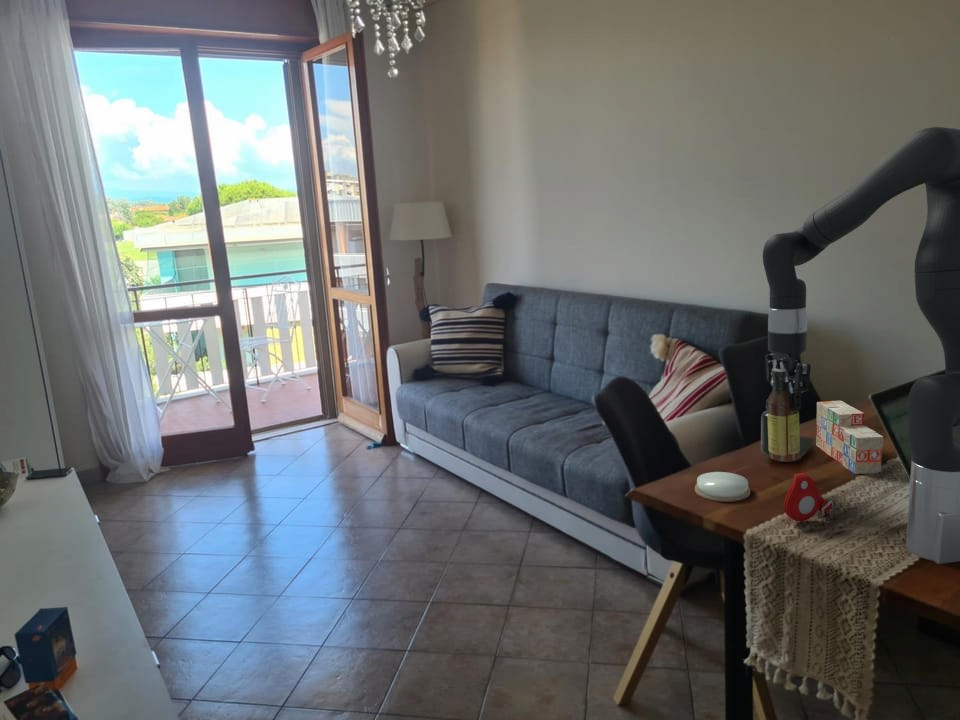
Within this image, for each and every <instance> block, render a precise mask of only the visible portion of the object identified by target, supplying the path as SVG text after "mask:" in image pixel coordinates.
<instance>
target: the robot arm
mask: <svg viewBox="0 0 960 720" xmlns="http://www.w3.org/2000/svg"><path fill="white" fill-rule="evenodd" d="M923 184H924V186H925V192H926V201H927V203H926V204H927V205H926V206H927V215H926V223H925V226H924V230H923V232H922V236H921V238H920V242H919V244H918V247H917V252H916V255H915V260H914V287H915V288H914V290H915V298H916V299H915V300H916V302H917V305H918V308H919V309H920V311H921V313H922V315H923V316H924V318H925V319H926V321H927V322H928V324H929V325H930V326H931V327H932V329H933V330H934V332H935V333H936V336H937V337H938V339H939V341H940V343H941V346H942V349H943V357H944V365H945V366H944V367H945V368H944V369H945V370H944V371H945V372H944V373H945V374H936V375H930V376H924V377H921V378H918V379H917V380H916V381H915V382H914V383H913V384H912V386H911V388H910V392H909V393H908V401H907V402H908V403H907V405H908V406H907V417H908V418H907V421H908V422H907V424H908V425H907V428H908V429H907V439H908V445H909V447H910V450H911V466H910V478H909V490H908V491H909V493H908V494H909V495H908V509H907V510H908V511H907V526H906V544H905V547H906V549H907V550H908V551H909V552H910V553H911V554H913V555H914V556H916V557H919V558H921V559H924V560H928V561H932V562H935V564H938V565H942V564H949V563H955V562H956V563H957V562H960V443H959V442H955V441H954V427H955V428H956V427H960V129H958V128H952V127H951V128H950V127H943V126H931V127H926V128H923V129H921V130H919V131H917V132H915V133H914V134H913V135H911V136H910V137H909V138H907V139H906V141H904V142H903V143H902V144H900V145H899V147H897V148H896V149H895V150H894V151H893V152H892V153H890V155H889V156H887V157H886V159H884V160H882V162H881V163H880V164H879V165H877V166H876V167H875V168H874V169H873V170H872V171H870V172H869V173H867V175H866V176H864V177H863V178H862V179H860V180H859V181H858V182H856V183H855V184H854V185H853V186H851V187H850V188H849V189H847V190H846V191H844V192H843V193H841V194H840V195H838V196H836V197H835V198H834V199H832V200H831V201H829V202H827V203H826V204H824V205H823V206H821V207H820V208H818V209H817V210H815V211H814V212H812V214H810V215H809V216H808V217H806V218H805V220H804V223H803V225H802V226H800V227H799V228H798V229H796V230H794V231H792V232H780V233H775V234H773V235H771V236H770V237H769V238H767V240H766V242H765V243H764V246H763V249H762V264H763V266H764V267H763V268H764V271H765V276H766V277H765V278H766V280H767V283H768V286H769V308H768V309H769V311H768V317H767V318H768V319H767V350H768V352H770V353H767V354H765V356H764V358H765V359H764V360H765V372H766V381H767V382H770V385H771V386H772V387H773V376H772V369H774V368H776V369H777V368H780V369H781V370H782V371H784V379H785V382H786V383H787V384H788V386H789V391H790V393H789V409H790V410H792V411H795V410H798V411H800V410H801V409H802V394H803V393H804V392H808V391H809V389H810V380H811V379H810V378H811V369H812V368H811V364H810V363H803V361H802V356H801V355H802V353H805V352H806V351H807V350H808V348H807V347H808V313H807V285H806V282H805V280H803V279H800V278H797V271H796V267H799V266H802V265H804V264H806V263H808V262H810V261H811V260H813V259H815V258H816V257H817V256H818V255H819V254H821V253H822V252H823V251H824V250H826V249H827V247H828V246H830V245H831V244H834V243H835V242H837V241H839V240H841V239H842V238H844V237H845V236H847V235H849V234H850V233H852V232H853V231H855V230H857V229H858V228H859V227H861V226H862V225H863V224H864V223H865V222H867V221H868V220H869V219H870V218H871V217H872V216H873V215H874V214H875V212H877V210H879V209H880V208H881V207H882V206H883V205H885V204H886V203H887V202H888V201H891V200H892V199H893V198H895V197H897V196H899V195H900V194H903V193H904V192H907V191H909V190H911V189H913V188H916V187H919V186H921V185H923ZM790 377H792V378H790Z"/></svg>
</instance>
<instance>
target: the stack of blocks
mask: <svg viewBox="0 0 960 720" xmlns="http://www.w3.org/2000/svg"><path fill="white" fill-rule="evenodd" d="M864 421H865V413H864V412H862V411H860V410H859V409H857V408H855V407H853V406H851V405H849V404H847V403H846V402H844V401H843V400H830V401H828V400H827V401H826V400H825V401H817V402H816V435H815V444H816V445H815V446H816V447H818V448H819V449H820V450H821V451H822V452H823V453H825V454H826V455H828V456H830V457H831V458H833V460H835V461H836V462H839V464H840V465H842V466H843V467H844V468H846V469H847V470H848V471H850V472H851V473H853V474H854V475H861V474H878V472H880V473H881V472H882V462H883V461H882V460H883V459H882V457H883V447H884V436H883V435H881V434H879V433H878V432H877V431H875V430H874V429H871V428H869V426H866V425H864V424H865V422H864Z"/></svg>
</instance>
